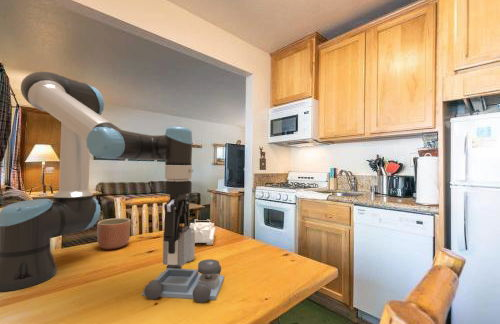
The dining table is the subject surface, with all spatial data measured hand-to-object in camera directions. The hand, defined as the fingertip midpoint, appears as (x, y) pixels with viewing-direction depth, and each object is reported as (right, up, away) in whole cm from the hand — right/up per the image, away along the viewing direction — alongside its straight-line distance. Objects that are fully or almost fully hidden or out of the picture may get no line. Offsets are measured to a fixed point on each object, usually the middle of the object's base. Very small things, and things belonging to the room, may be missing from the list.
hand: (177, 259), depth 69 cm
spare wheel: (+9, -5, -1) cm, 10 cm away
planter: (-37, -8, +32) cm, 49 cm away
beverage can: (-3, -8, +19) cm, 21 cm away
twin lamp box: (0, 0, 0) cm, 0 cm away
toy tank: (-1, -9, +40) cm, 41 cm away
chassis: (+3, -8, 0) cm, 8 cm away
